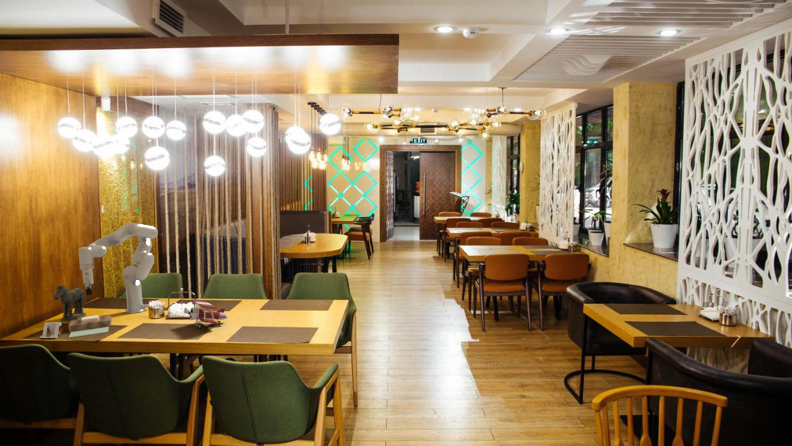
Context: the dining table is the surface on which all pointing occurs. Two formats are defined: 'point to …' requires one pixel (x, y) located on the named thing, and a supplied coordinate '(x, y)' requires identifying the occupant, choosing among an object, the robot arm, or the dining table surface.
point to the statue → (70, 302)
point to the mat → (89, 332)
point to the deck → (90, 324)
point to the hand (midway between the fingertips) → (89, 294)
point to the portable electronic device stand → (51, 329)
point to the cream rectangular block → (90, 319)
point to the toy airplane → (205, 313)
